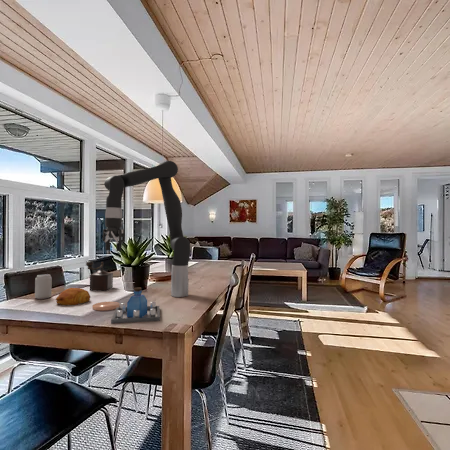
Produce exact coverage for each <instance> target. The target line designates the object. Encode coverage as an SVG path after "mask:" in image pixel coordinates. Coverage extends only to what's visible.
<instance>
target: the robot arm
mask: <svg viewBox="0 0 450 450" xmlns="http://www.w3.org/2000/svg"><path fill="white" fill-rule="evenodd" d="M178 171H179V167H178V165H177V163H175V162H174V161H172V160H166V161H163V162H161V163H160V164H157V165H156V166H152V167H148V168H144V169H138V170H134V171H130V172H126V173H123V174H119V175H111V176H109V177H107V178H106V179H105V180H104V187H105V189H106V190H107V191H108V196H106V200H105V203H106V204H105V207H106V208H105V221H104V223H105V225H104V226H105V227H106V228H103V229H102V241H103V242H104V243H105V251H111V241H112V240H115V242H116V252H121V251H122V246H123V245H122V244H123V243H125V242H126V237H125V236H126V235H125V229H121V228H122V226H123V211H122V205H123V204H122V198H123V195H124V191H125V188H130V187H134V186H138V185H142V184H144V183H148V182H150V181H153V180H158V183H159V185H160V191H161V194H162V195H161V196H162V200H163V206H164V212H165V215H166V216H165V217H166V220H167V226H168V229H169V237H170V238H169V239H170V241H169V242H170V247H171V250H173V257H172V260H171V281H170V282H171V283H170V284H171V286H170V287H171V288H170V289H171V290H170V294H171V295H170V296H171V297H174V298H184V297H189V280H190V279H189V261H190V256H191V255H190V254H191V242H190V240H189V239H188V238H187V237H185V236H184V233H183V229H182V224H183V223H182V221H183V208H182V204H181V203H182V202H181V200H180V198H179V195H178V194H177V193H176V191H175V189H174V186H173V183H172V178H174V177H175V176H176V175H177V174H178Z"/></svg>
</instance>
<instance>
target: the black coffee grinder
mask: <svg viewBox="0 0 450 450" xmlns="http://www.w3.org/2000/svg"><path fill="white" fill-rule="evenodd" d="M85 264H86V265H85V266H87V270H93V271H94V270H95V272H93V273H92V274H90V275H89V291H91V292H92V291H93V292H107V291H109V290H111V289H112V287H114V285H113V284H114V283H113V282H114V273H113V272H108V271H106V270H104V261H101V263H100V266H98V267H93V265H94V262H93V261H92V260H88V261H86V263H85ZM98 269H99V270H98Z"/></svg>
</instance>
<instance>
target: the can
mask: <svg viewBox="0 0 450 450" xmlns="http://www.w3.org/2000/svg"><path fill="white" fill-rule="evenodd" d="M52 281H53V280H52V276H51V274H48V273H47V274H37V275H36V277H35V280H34V298H35V299H37V300H43V299H44V300H45V299H49V298H51V296H52V288H53V287H52V283H53V282H52Z"/></svg>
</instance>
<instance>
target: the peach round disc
mask: <svg viewBox="0 0 450 450" xmlns="http://www.w3.org/2000/svg"><path fill="white" fill-rule="evenodd" d="M117 307H120V302H118V301H101V302H95V303H94V304H92V310H94V311H99V312H101V311H102V312H105V311H113V310H114V311H115V310H116V308H117Z"/></svg>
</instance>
